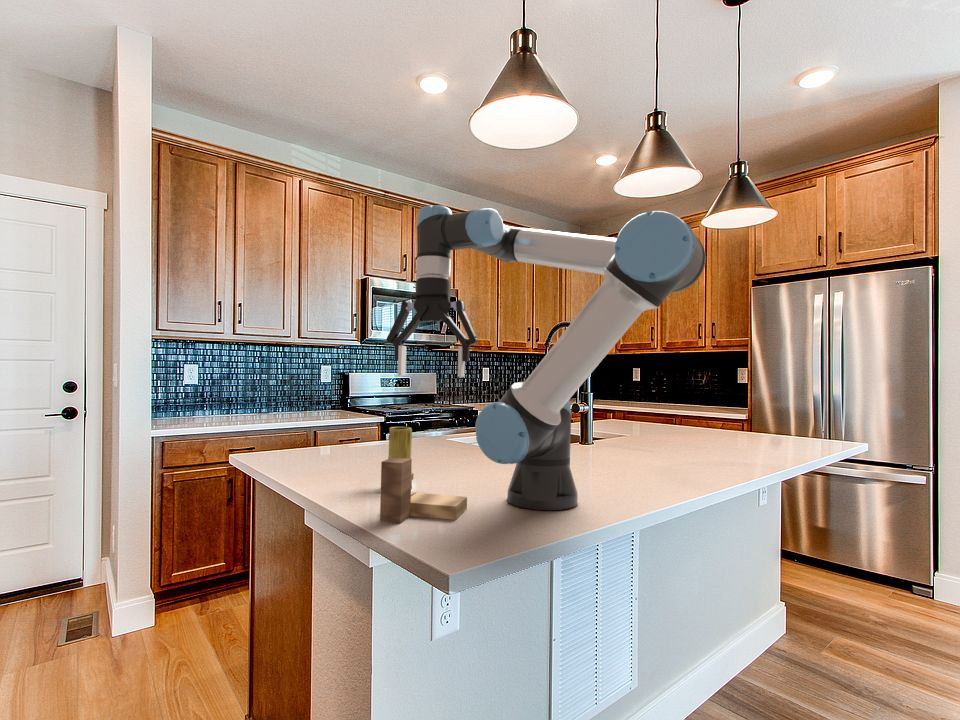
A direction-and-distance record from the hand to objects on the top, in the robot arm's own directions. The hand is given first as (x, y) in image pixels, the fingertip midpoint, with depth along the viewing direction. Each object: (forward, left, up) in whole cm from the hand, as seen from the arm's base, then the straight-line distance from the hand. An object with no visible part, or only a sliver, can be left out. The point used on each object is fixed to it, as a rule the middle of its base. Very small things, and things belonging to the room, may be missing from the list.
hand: (431, 376), depth 114 cm
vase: (+10, -8, -27) cm, 30 cm away
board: (-3, +9, -27) cm, 28 cm away
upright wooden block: (+1, +13, -27) cm, 30 cm away
